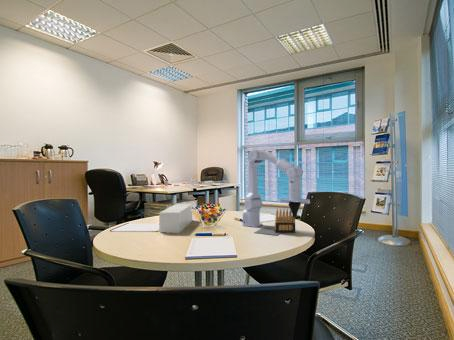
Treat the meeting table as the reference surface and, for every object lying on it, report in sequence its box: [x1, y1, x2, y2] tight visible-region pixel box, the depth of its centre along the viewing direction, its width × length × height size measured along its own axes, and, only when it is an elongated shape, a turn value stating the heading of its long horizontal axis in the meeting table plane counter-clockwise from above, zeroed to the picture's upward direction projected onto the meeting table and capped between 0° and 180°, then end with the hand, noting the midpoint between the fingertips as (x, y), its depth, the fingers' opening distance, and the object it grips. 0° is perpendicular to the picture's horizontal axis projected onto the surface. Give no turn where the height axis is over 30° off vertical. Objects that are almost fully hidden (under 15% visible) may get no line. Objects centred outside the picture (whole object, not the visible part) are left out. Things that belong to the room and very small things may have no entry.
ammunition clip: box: [274, 208, 296, 234], centre depth 133 cm, size 11×2×12 cm, turn 97°
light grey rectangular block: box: [158, 203, 194, 234], centre depth 151 cm, size 32×11×11 cm, turn 175°
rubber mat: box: [254, 225, 281, 237], centre depth 137 cm, size 12×16×1 cm
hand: (294, 217), depth 130 cm, fingers closed
